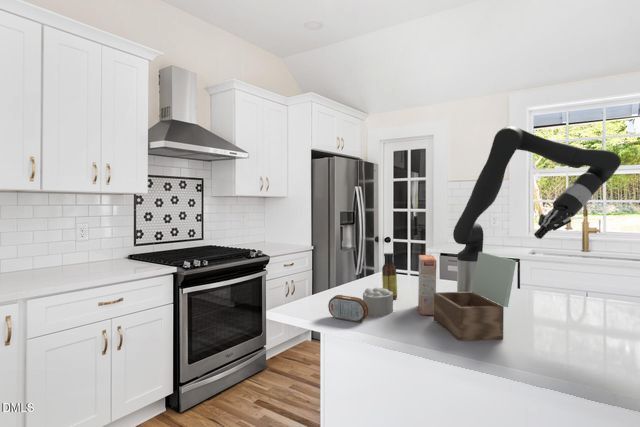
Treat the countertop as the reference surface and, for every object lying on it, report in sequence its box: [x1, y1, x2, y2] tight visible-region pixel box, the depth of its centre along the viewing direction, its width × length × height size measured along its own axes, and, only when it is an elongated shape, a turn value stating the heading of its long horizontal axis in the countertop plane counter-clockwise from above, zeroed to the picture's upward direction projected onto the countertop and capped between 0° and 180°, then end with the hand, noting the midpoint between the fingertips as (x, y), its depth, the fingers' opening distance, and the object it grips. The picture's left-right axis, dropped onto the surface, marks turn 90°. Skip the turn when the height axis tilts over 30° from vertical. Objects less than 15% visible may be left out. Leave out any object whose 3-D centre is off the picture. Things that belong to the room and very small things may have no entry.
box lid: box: [472, 252, 517, 308], centre depth 127 cm, size 14×21×2 cm
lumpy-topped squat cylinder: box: [362, 287, 394, 318], centre depth 148 cm, size 10×13×9 cm
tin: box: [327, 294, 368, 323], centre depth 138 cm, size 15×3×8 cm, turn 59°
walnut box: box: [433, 291, 505, 342], centre depth 127 cm, size 14×20×10 cm
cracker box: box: [417, 254, 437, 316], centre depth 149 cm, size 14×6×21 cm, turn 168°
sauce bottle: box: [381, 252, 398, 300], centre depth 168 cm, size 6×6×20 cm
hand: (537, 236), depth 128 cm, fingers closed
